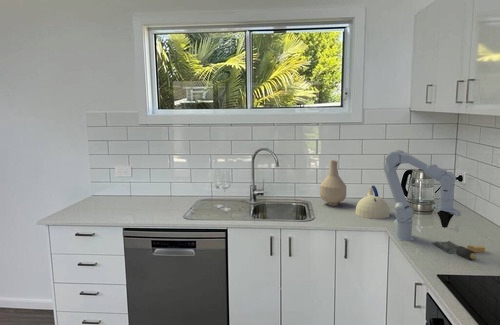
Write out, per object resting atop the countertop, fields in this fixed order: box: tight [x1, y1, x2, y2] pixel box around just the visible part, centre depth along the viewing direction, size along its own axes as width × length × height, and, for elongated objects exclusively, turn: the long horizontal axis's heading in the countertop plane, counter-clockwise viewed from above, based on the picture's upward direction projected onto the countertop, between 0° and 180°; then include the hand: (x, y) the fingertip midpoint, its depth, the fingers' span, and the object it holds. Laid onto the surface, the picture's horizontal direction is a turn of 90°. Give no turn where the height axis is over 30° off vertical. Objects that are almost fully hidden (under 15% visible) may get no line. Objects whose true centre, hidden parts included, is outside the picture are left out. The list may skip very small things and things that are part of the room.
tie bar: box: [466, 244, 486, 253], centre depth 170 cm, size 2×7×3 cm, turn 95°
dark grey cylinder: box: [455, 245, 477, 261], centre depth 163 cm, size 7×4×4 cm, turn 16°
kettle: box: [355, 185, 390, 220], centre depth 232 cm, size 20×21×18 cm
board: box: [431, 240, 460, 254], centre depth 171 cm, size 24×10×2 cm, turn 5°
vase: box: [319, 160, 347, 207], centre depth 256 cm, size 18×18×30 cm
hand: (444, 227), depth 177 cm, fingers closed
